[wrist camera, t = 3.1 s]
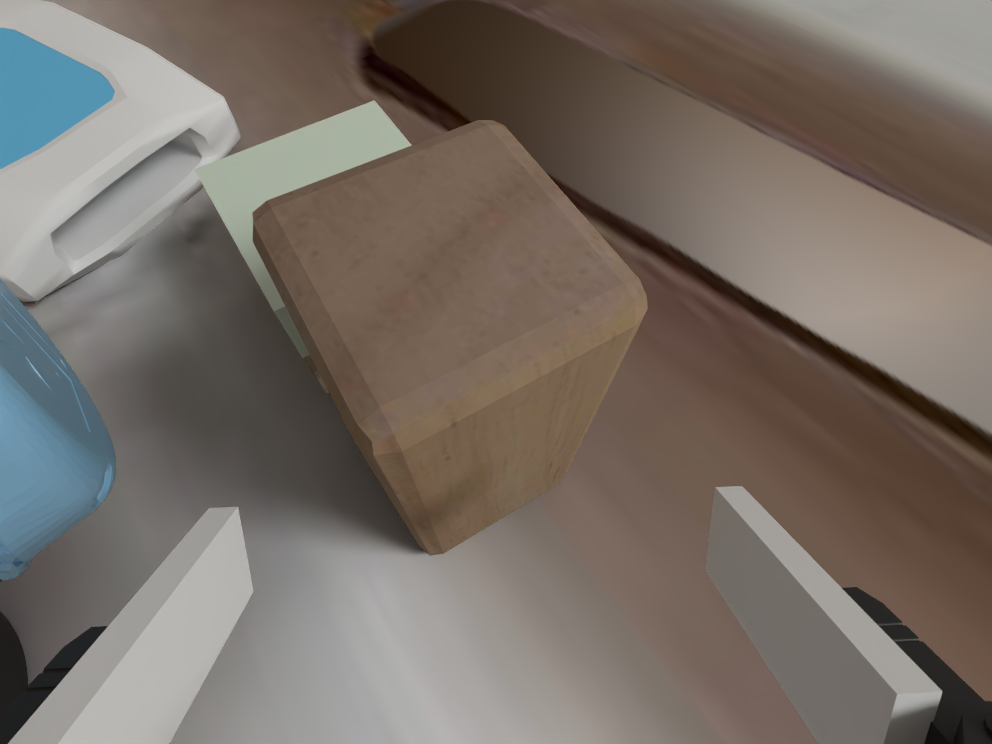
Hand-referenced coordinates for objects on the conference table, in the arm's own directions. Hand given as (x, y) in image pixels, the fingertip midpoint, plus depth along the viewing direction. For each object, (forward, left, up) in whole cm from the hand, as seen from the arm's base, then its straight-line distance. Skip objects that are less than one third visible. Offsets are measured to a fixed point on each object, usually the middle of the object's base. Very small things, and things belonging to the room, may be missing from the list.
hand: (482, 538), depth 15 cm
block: (-1, +8, -18) cm, 20 cm away
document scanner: (-36, +36, -18) cm, 54 cm away
